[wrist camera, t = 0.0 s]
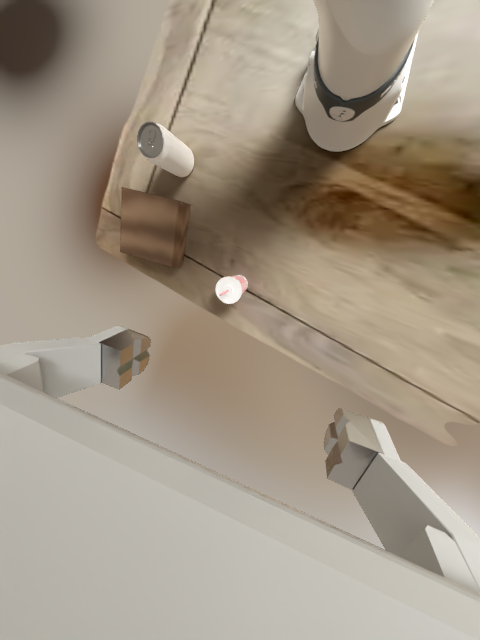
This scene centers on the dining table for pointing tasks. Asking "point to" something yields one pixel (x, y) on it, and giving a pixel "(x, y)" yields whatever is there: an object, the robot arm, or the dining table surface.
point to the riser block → (153, 227)
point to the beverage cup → (231, 288)
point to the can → (165, 149)
